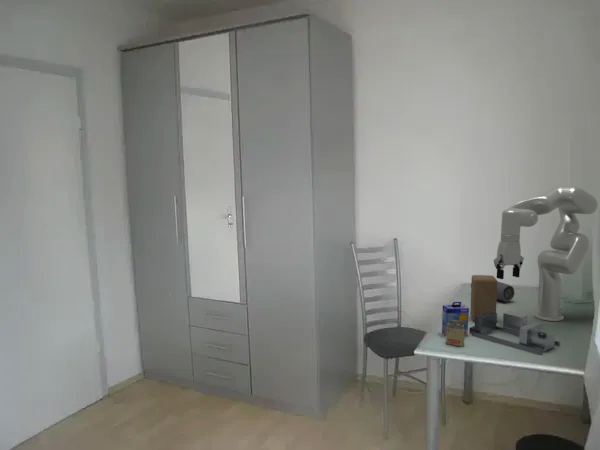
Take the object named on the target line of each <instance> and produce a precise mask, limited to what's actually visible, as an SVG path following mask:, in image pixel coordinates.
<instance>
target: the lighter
mask: <svg viewBox="0 0 600 450" xmlns="http://www.w3.org/2000/svg"><path fill="white" fill-rule="evenodd" d="M452 322H453V323H452ZM457 323H460V324H457ZM462 323H463V321H462V320H461V321H459V320H454V319H450V323H447V330H446V336H445V343H446V344H447V345H450V346H456V347H464V346H465V336H464V331H465V328H464V325H462Z"/></svg>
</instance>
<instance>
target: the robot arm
mask: <svg viewBox="0 0 600 450" xmlns="http://www.w3.org/2000/svg"><path fill="white" fill-rule="evenodd" d="M556 209H558V212H559V218H560V219H559V223H558V225H557V228H556V230H555V231H554V233H553V236H552V237H551V240H550V243H549V244H550V248H551V250H550V249H548V250H547V249H545V250H543V251H541V252H539V254H538V256H537V266H538V278H539V279H538V294H537V295H538V297H537V311H535V312H534V313H533V317H534V318H536V319H538V320H541V321H547V322H561V321H563V320H564V315H563V314H561V311H563V309H564V308H563V307H562V306H561V305H562V304H561V303H562V288H563V280H562V277H561V274H564V275H574V274H575V273H576V272H577V271H578V270H579V269H580V266H581V264H582V262H583V260H584V259H585V257H586V255H587V253H588V250H589V245H590V241H589V238H588V236H587V235H586V234H584V233H581V232H580V233H579V232H578V231H579V229H580V226H581V225H580V222H579V219H578V218H577V216H576V215H577V214H579V215H592V214H594V213H595V212H596V211H597V209H598V201H597V198H596V197H595V196H593V194H590V193H589V192H587V191H586V190H584V189H582V188H580V187H577V186H568V185H567V186H565V185H559V186H554V187H552V188H551V189H549V190H547V191H546V192H544V193H542V194H540V195H539V196H536V197H533V198H530V199H529V198H528V199H526V200H522V201H519V202H516V203H514V204H512V206H509V207H508V208H507V209H505V210H503V211H502V213H501V228H500V232H501V233H500V241H499V243H498V247H497V251H496V258H494V259H493V264H494V267H495V269H496V279H498V280H504V276H505V275H504V274H505V270H504V269H505V267H506V266H512V277H514V278H520V276H521V275H520V274H521V272H520V271H521V268H522V265H523V264H524V263H523V262H524V260H525V257H524V256H522V255H521V254H522V253H521V251H522V250H521V242H520V241H521V239H520V238H521V227H524V228H525V227H527V228H530V227H531V228H532V227H534V226H535V225H536V224H537V223H538V222H539V216H541V215H547V214H550V213H551V212H553V211H554V210H556ZM552 249H553V250H552Z"/></svg>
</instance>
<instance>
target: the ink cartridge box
mask: <svg viewBox="0 0 600 450" xmlns="http://www.w3.org/2000/svg"><path fill="white" fill-rule="evenodd" d="M469 314H470V308H469V307H468V306H466V305H465V304H462V301H453V302H452V304H442V314H441V315H442V316H441V317H442V320H441V321H442V322H441V333H442V334H443V335H444V336H445V337H446V330H447V323H450V319H454V320H459V321H461V320H462V321H463V323H462V325H464V328H465V331H464V337H467V335H468V334H469V316H470V315H469ZM452 323H453V322H452ZM457 324H460V323H457Z"/></svg>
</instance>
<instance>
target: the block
mask: <svg viewBox="0 0 600 450" xmlns="http://www.w3.org/2000/svg"><path fill="white" fill-rule="evenodd" d="M497 281H498V280H497V278H496V277H495V276H494V275H489V274H487V275H486V274H472V275H471V282H470V283H471V284H470V291H471V292H470V311H469V314H470V315H469V316H470V317H471V319H472V321H473V322H475V316H478V315H481V314H484V313H487V312H490V311H491V312H495V313H497V304H498V303H497V302H498V301H497Z"/></svg>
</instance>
